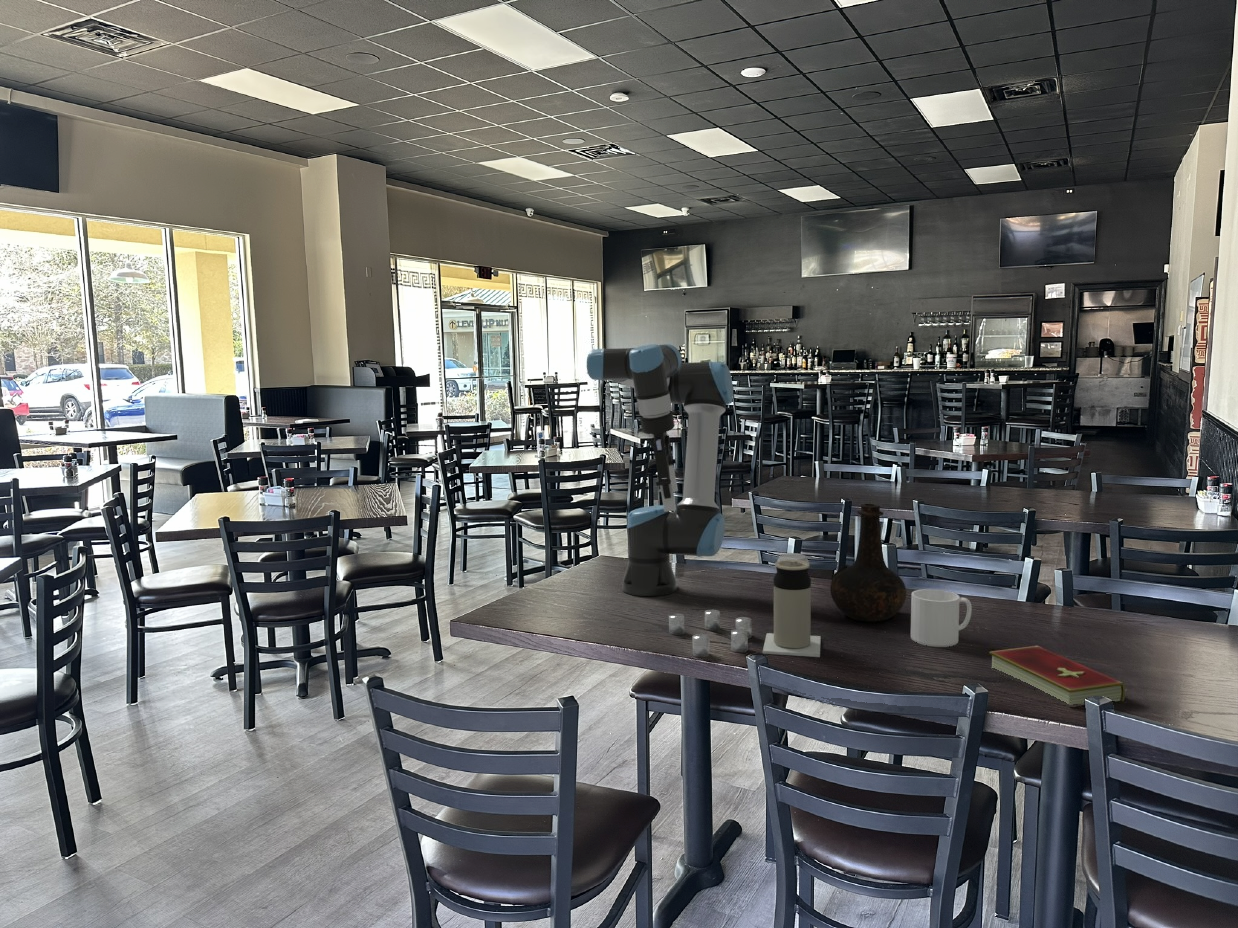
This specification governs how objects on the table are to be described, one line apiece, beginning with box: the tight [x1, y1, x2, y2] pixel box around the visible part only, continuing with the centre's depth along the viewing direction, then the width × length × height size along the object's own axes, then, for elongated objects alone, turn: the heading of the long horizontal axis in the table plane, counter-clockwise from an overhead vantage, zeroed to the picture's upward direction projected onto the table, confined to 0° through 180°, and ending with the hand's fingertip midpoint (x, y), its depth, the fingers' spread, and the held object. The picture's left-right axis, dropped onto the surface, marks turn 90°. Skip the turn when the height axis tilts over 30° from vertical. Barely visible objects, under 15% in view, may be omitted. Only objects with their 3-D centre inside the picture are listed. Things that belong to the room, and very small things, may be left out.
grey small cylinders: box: [668, 609, 752, 658], centre depth 186 cm, size 22×19×4 cm
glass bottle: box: [829, 503, 907, 623], centre depth 200 cm, size 18×18×28 cm
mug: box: [910, 588, 972, 648], centre depth 183 cm, size 13×10×10 cm
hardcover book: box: [988, 645, 1126, 705], centre depth 158 cm, size 12×21×4 cm, turn 15°
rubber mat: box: [762, 632, 821, 658], centre depth 182 cm, size 12×12×1 cm
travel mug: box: [773, 560, 812, 649], centre depth 181 cm, size 8×8×18 cm
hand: (671, 500), depth 193 cm, fingers open, 13 cm apart
